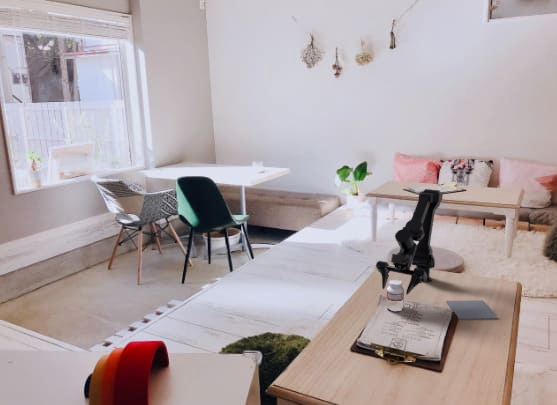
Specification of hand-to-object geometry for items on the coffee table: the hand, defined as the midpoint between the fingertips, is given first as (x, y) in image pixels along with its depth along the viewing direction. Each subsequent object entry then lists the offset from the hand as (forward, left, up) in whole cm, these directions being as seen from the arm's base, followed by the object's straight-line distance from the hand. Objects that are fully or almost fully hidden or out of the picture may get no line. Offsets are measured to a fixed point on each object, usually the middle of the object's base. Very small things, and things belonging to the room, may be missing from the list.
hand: (394, 291), depth 177 cm
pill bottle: (0, 0, -8) cm, 8 cm away
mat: (+2, +28, -7) cm, 29 cm away
